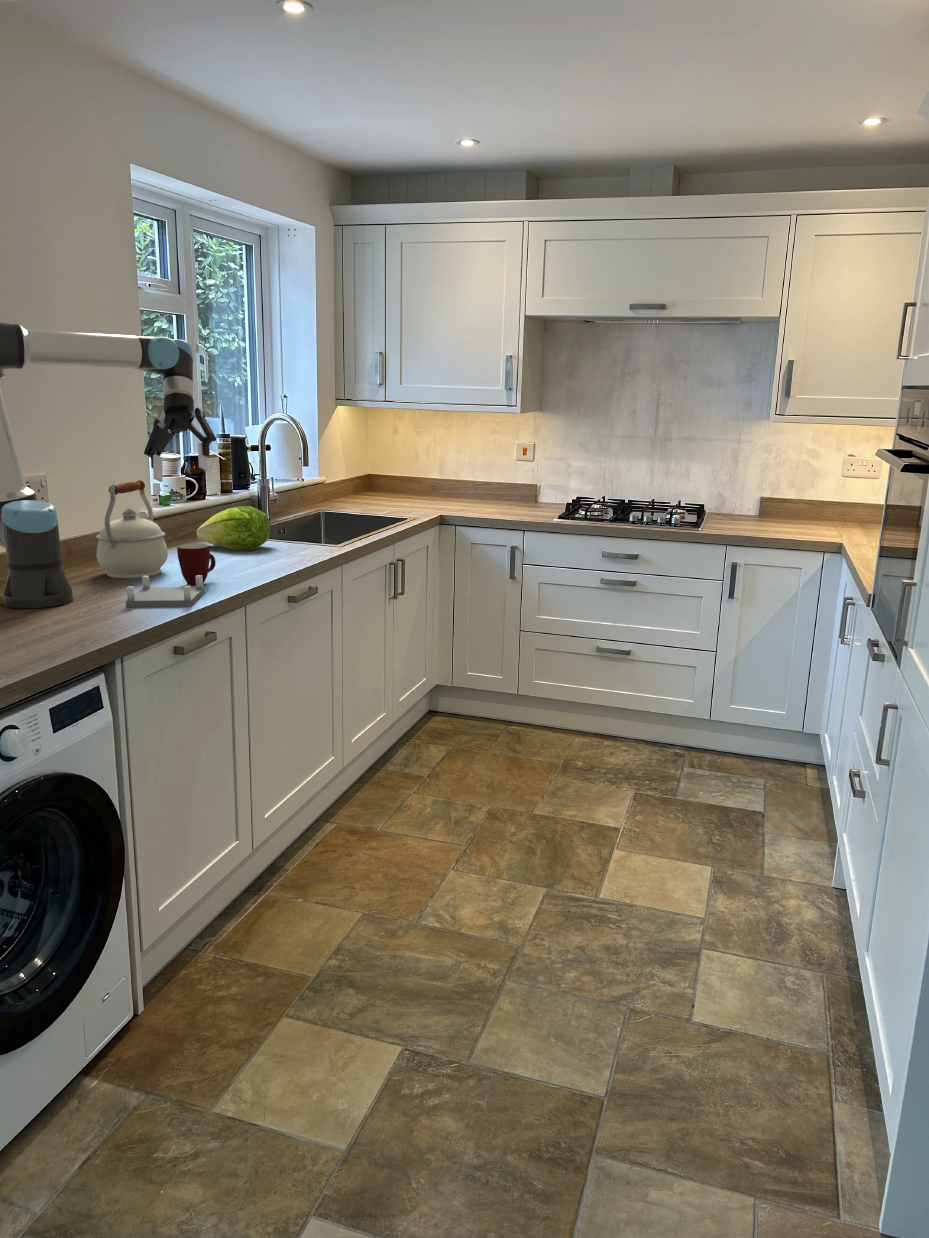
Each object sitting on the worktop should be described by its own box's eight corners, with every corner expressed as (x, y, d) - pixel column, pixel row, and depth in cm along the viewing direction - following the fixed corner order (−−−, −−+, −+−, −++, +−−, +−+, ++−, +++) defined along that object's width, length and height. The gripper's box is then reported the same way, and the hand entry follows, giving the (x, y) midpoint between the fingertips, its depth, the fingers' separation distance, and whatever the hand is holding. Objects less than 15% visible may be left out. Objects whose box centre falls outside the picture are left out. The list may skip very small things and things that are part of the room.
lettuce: (213, 521, 308) (187, 503, 294) (278, 514, 300) (254, 496, 287) (209, 562, 304) (181, 546, 290) (274, 556, 296) (250, 539, 283)
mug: (201, 578, 249) (199, 541, 247) (224, 581, 246) (222, 543, 243) (172, 585, 240) (170, 547, 238) (196, 588, 237) (194, 549, 234)
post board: (126, 607, 216) (124, 588, 215) (143, 593, 231) (142, 575, 230) (191, 606, 217) (190, 587, 216) (204, 592, 232) (203, 575, 231)
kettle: (143, 583, 243) (136, 487, 237) (80, 580, 246) (71, 485, 240) (189, 566, 266) (184, 478, 260) (131, 563, 270) (124, 477, 264)
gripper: (228, 392, 240) (231, 468, 236) (148, 415, 248) (149, 489, 243) (211, 380, 234) (213, 458, 229) (129, 403, 241) (130, 479, 236)
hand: (180, 474), depth 236 cm, fingers open, 13 cm apart
